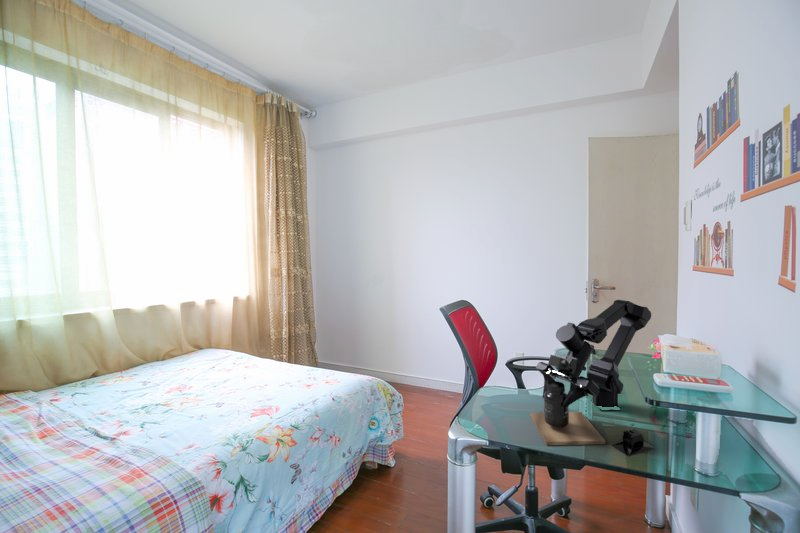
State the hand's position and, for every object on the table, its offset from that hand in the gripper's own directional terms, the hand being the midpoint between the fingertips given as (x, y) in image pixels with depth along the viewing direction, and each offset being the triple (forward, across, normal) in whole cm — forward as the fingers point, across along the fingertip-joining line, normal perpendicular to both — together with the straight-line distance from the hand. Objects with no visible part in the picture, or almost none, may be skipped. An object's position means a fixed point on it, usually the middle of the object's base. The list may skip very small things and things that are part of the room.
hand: (553, 402), depth 111 cm
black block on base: (-1, +17, +14) cm, 22 cm away
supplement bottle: (+4, 0, +6) cm, 7 cm away
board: (+4, +1, +8) cm, 9 cm away
